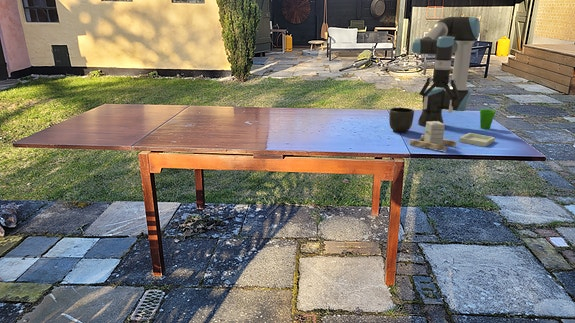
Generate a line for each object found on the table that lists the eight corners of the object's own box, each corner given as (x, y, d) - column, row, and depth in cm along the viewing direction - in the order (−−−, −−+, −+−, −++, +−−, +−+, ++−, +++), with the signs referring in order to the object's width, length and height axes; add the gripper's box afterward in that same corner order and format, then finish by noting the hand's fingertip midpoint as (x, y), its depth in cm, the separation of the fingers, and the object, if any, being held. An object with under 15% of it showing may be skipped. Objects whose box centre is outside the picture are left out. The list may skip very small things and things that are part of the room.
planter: (413, 129, 257) (415, 108, 253) (409, 135, 245) (412, 113, 241) (390, 127, 262) (392, 106, 258) (385, 132, 250) (387, 111, 246)
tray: (458, 141, 232) (459, 137, 231) (468, 136, 241) (469, 132, 241) (485, 147, 223) (485, 142, 222) (494, 141, 232) (495, 137, 232)
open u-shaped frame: (410, 145, 226) (410, 139, 225) (421, 140, 235) (422, 134, 234) (444, 152, 214) (445, 146, 213) (455, 146, 223) (456, 141, 222)
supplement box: (423, 144, 228) (425, 121, 224) (436, 143, 228) (439, 120, 224) (428, 148, 221) (431, 124, 217) (442, 147, 221) (445, 124, 217)
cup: (494, 130, 254) (497, 112, 251) (478, 130, 256) (481, 112, 253) (491, 127, 263) (493, 109, 259) (475, 126, 265) (478, 109, 261)
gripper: (415, 67, 217) (411, 108, 224) (464, 71, 201) (458, 115, 208) (422, 66, 222) (418, 106, 229) (470, 70, 206) (464, 113, 213)
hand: (437, 110), depth 218 cm, fingers open, 13 cm apart
